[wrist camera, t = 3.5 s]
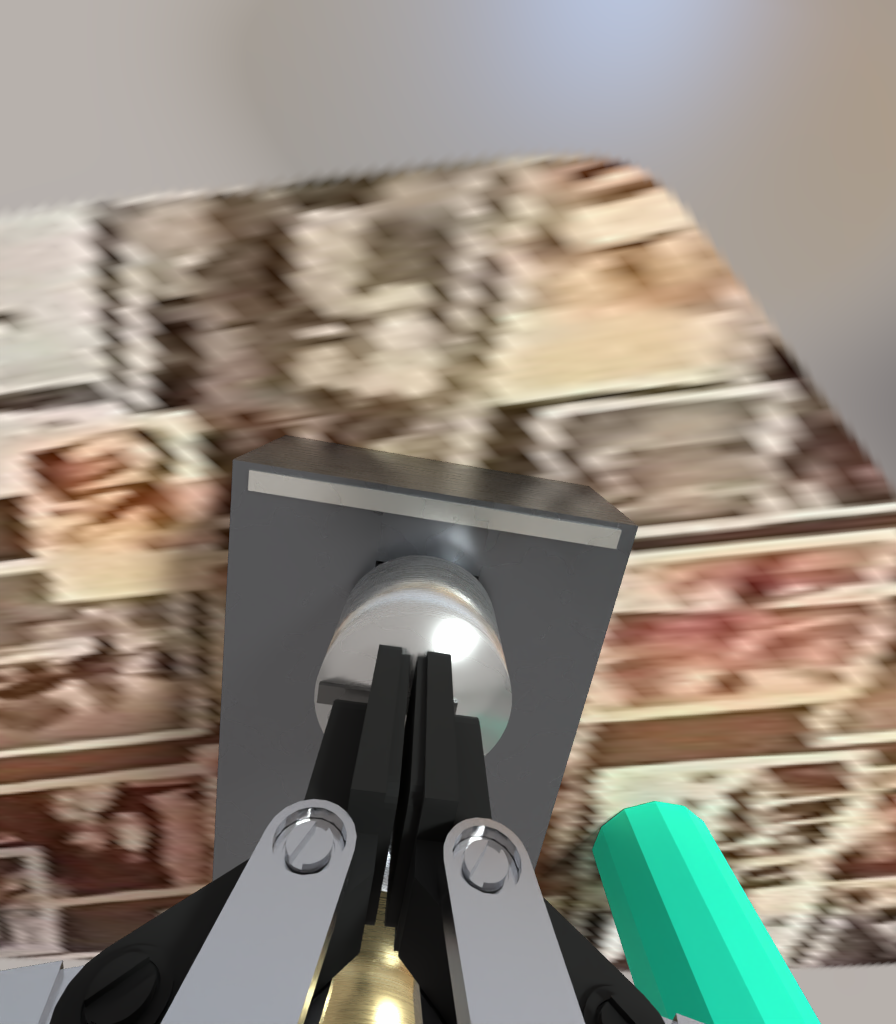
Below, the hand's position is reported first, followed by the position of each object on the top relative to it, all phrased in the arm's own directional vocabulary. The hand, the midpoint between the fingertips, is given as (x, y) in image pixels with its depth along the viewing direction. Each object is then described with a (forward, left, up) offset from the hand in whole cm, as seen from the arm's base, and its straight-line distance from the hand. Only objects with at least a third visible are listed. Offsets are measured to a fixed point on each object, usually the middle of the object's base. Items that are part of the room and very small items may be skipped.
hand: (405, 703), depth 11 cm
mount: (0, +5, -9) cm, 11 cm away
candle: (-14, +14, -10) cm, 22 cm away
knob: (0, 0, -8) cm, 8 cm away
